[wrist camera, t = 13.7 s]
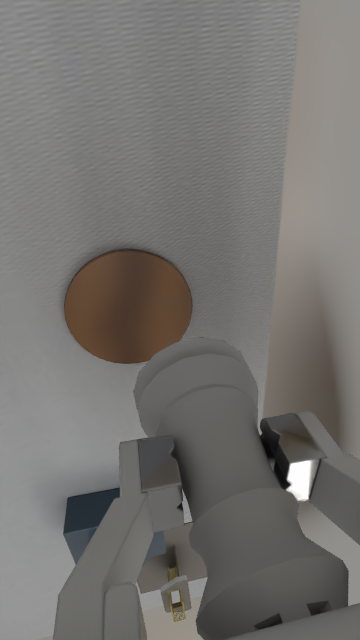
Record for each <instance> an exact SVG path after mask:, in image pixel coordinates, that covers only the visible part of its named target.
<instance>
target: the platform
mask: <svg viewBox="0 0 360 640" xmlns="http://www.w3.org/2000/svg"><path fill="white" fill-rule="evenodd" d="M192 526H193V522H191V523H187V524H184V526H180V527H176V528H171V529H167V530H163V531H164V539H165V548H166V553H165V554H160V555H156V556H151V557H149V559H148V561H147V562H146V563H145V565H144V566H143V567H142V568H141V571H140V573H139V576H138V579H137V582H138V585H139V588H140V591H141V594H142V593H146V592H150V591H154V590H158V589H160V590H161V596H162V600H163V604H164V608H165V611H166V612H172V616H173V621H174V622H176V621H175V618H174V612H183V611H184V618H183V619H181V620H184V619H186V616H185V611H186V610H189V609H191V602H190V595H189V588H188V582H189V581H193V580H197V579H200V578H204V577H208V576H207V570H206V567H205V564H204V562H203V559H202V557H201V556H200V555H199V554H198V553H197V552H195V551H194V550H193V549H192V548H190V542H189V533H190V530H191V528H192ZM177 590H179V593H180V601H181V602H178V603H174V604H172V599H171V592H173V591H177ZM181 598H182V599H181ZM176 616H177V615H176ZM177 621H180V620H177Z"/></svg>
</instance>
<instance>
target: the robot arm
mask: <svg viewBox="0 0 360 640" xmlns="http://www.w3.org/2000/svg"><path fill="white" fill-rule="evenodd" d="M260 429H261V431H262V435H261V436H260V438H261V441H262V443H263V446H264V449H265V452H266V455H267V457H268V460H269V463H270V466H271V468H272V471H273V473H274V475H275V477H276V478H277V480H278V482H279V484H280V486H281V488H282V489H284V490H286V491H288V492H291V493H293V494H294V496H295V498H296V499H297V501H298V502H301V501H306V500H310V503H312V504H313V505H314V506H315V507H316V508H317V509H318V510H320V511H321V512H322V513H323V514H324V515H326V516H327V517H328V518H329V519H330V520H331V521H332V522H333V523H335V524H336V525H337V526H338V527H339V528H340V529H342V530H343V531H344V532H345V533H346V534H348V536H350V537H351V538H352V539H353V540H354V541H355V542H357V543H358V544H359V545H360V460H359V459H357V458H356V457H353V456H352V455H350V454H344V453H343V452H342V451H341V450H340V448H339V447H338V445H337V444H336V443H335V441H334V440H333V439H332V437H331V436H330V435H329V434H328V432H327V431H326V429H325V428H324V427H323V425H322V424H321V423H320V421H319V420H318V419H317V417H316V416H315V415H314V414H313V412H311V411H305V412H298V413H293V414H292V413H291V414H285V415H280V416H275V417H269V418H264V419H262V420H261V423H260ZM119 470H120V497H119V498H115V499H114V500H113V502H112V504H111V505H110V507H109V509H108V511H107V512H106V514H105V516H104V517H103V519H102V521H101V523H100V524H99V526H98V528H97V530H96V531H95V533H94V535H93V536H92V538H91V540H90V542H89V543H88V545H87V547H86V549H85V550H84V552H83V554H82V555H81V557H80V559H79V561H78V562H77V564H76V566H75V568H74V569H73V571H72V573H71V574H70V576H69V578H68V580H67V581H66V583H65V585H64V587H63V588H62V590H61V592H60V593H59V595H58V603H57V611H56V619H55V627H54V635H53V640H147V633H146V628H145V623H144V619H143V613H142V609H141V604H140V599H139V594H138V590H137V587H136V586H135V584H136V581H137V579H138V576H139V573H140V571H141V568H142V565H143V563H144V560H145V557H146V555H147V552H148V549H149V547H150V544H151V541H152V539H153V536H154V533H155V532H159V531H163V530H167V529H171V528H176V527H180V526H184V513H183V506H182V501H183V494H182V482H181V477H180V472H179V466H178V461H177V460H176V459H175V447H174V441H173V437H172V435H164V436H157V437H150V438H143V439H137V440H131V441H124V442H120V445H119ZM223 640H360V603H359V604H355V605H351V606H347V607H343V608H340V609H336V610H332V611H328V612H325V613H321V614H317V615H313V616H309V617H306V618H302V619H298V620H294V621H291V622H287V623H283V624H279V625H275V626H272V627H268V628H264V629H260V630H257V631H253V632H249V633H245V634H241V635H238V636H234V637H230V638H226V639H223Z"/></svg>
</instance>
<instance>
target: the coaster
mask: <svg viewBox="0 0 360 640" xmlns="http://www.w3.org/2000/svg"><path fill="white" fill-rule="evenodd" d="M64 308H65V318H66V322H67V325H68V328H69V330H70V332H71V334H72V335H73V337H74V338H75V340H76V341H77V342H78V343H79V344H80V345H81V346H82V347H83V348H84V349H85V350H87V351H88V352H90V353H91V354H93V355H94V356H96V357H99V358H101V359H104V360H106V361H110V362H114V363H122V364H132V363H140V362H145V361H148V360H150V359H151V358H152V357H153V356H154V355H155V354H156V353H158V352H159V351H161V350H163V349H165V348H166V347H168V346H170V345H172V344H173V343H175V342H178V341H179V340H180V339H181V338H182V336H183V335H184V333H185V332H186V330H187V328H188V326H189V323H190V320H191V315H192V297H191V293H190V290H189V287H188V285H187V283H186V281H185V279H184V278H183V276H182V275H181V273H180V272H179V271H178V270H177V269H176V268H175V267H174V266H173V265H172V264H171V263H169V262H168V261H167V260H165V259H163V258H162V257H160V256H158V255H155V254H153V253H150V252H146V251H142V250H133V249H128V250H117V251H112V252H109V253H105V254H103V255H101V256H98V257H96V258H95V259H93V260H91V261H90V262H88V263H87V264H86V265H85V266H83V267H82V268H81V269H80V270H79V272H78V273H77V274H76V275H75V277H74V278H73V280H72V281H71V283H70V286H69V288H68V291H67V294H66V298H65V305H64Z"/></svg>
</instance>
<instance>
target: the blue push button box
mask: <svg viewBox="0 0 360 640" xmlns="http://www.w3.org/2000/svg"><path fill="white" fill-rule="evenodd" d="M119 497H120V488H118V489H112V490H107V491H102V492H97V493H92V494H86V495H81V496H76V497H71V498H68V500H67V508H66V516H65V523H64V531H63V535H64V537H65V539H66V542H67V544H68V547H69V549H70V552H71V554H72V557H73V559H74V561H75V564H77V562H78V561H79V559H80V557H81V555H82V554H83V552H84V550H85V549H86V547H87V545H88V543H89V542H90V540H91V538H92V536H93V535H94V533H95V531H96V530H97V528H98V526H99V524H100V523H101V521H102V519H103V517H104V516H105V514H106V512H107V511H108V509H109V507H110V505H111V504H112V502H113V500H114V499H115V498H119ZM165 553H166V548H165V539H164V531H159V532H155V533H154V536H153V539H152V541H151V544H150V547H149V549H148V552H147V555H146V557H145V560H144V563H143V565H142V567H143V566H144V565H145V563H146V562H147V561H148V559H149V557H151V556H156V555H160V554H165Z"/></svg>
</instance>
